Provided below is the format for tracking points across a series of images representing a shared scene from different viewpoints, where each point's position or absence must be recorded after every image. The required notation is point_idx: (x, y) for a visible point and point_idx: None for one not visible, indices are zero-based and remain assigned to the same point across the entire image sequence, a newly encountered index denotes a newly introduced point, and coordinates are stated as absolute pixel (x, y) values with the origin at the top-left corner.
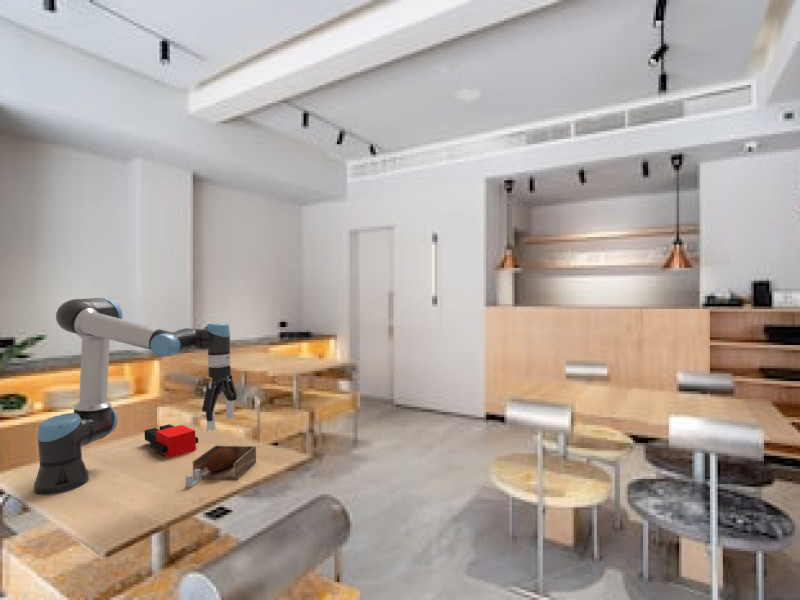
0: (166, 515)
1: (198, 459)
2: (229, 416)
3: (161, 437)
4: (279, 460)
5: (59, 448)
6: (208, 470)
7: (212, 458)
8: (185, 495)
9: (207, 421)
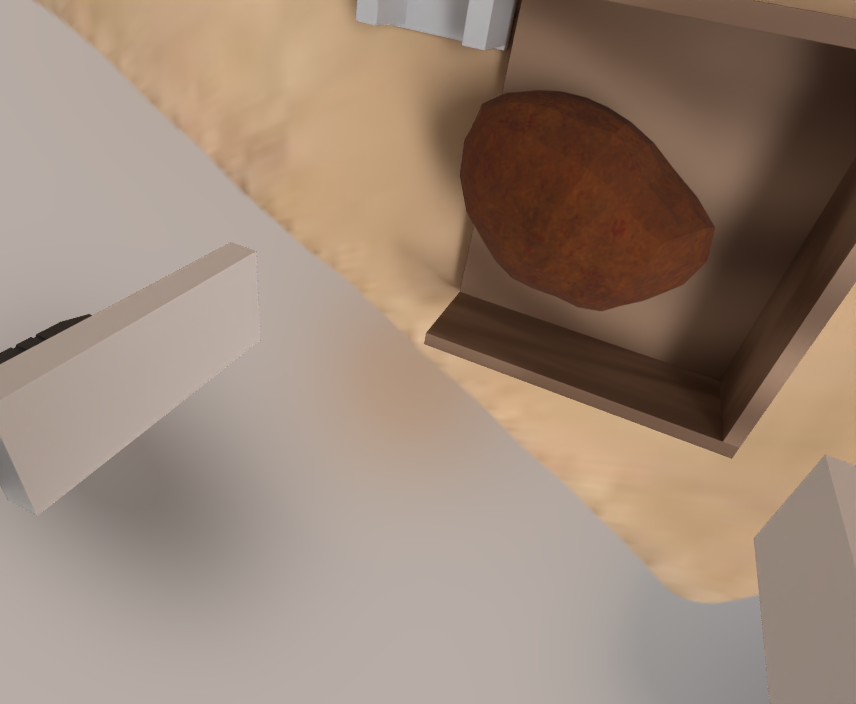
0: (118, 18)
1: None
2: (793, 517)
3: None
4: (697, 499)
5: None
6: (600, 73)
7: (467, 170)
8: (293, 28)
9: (136, 305)
